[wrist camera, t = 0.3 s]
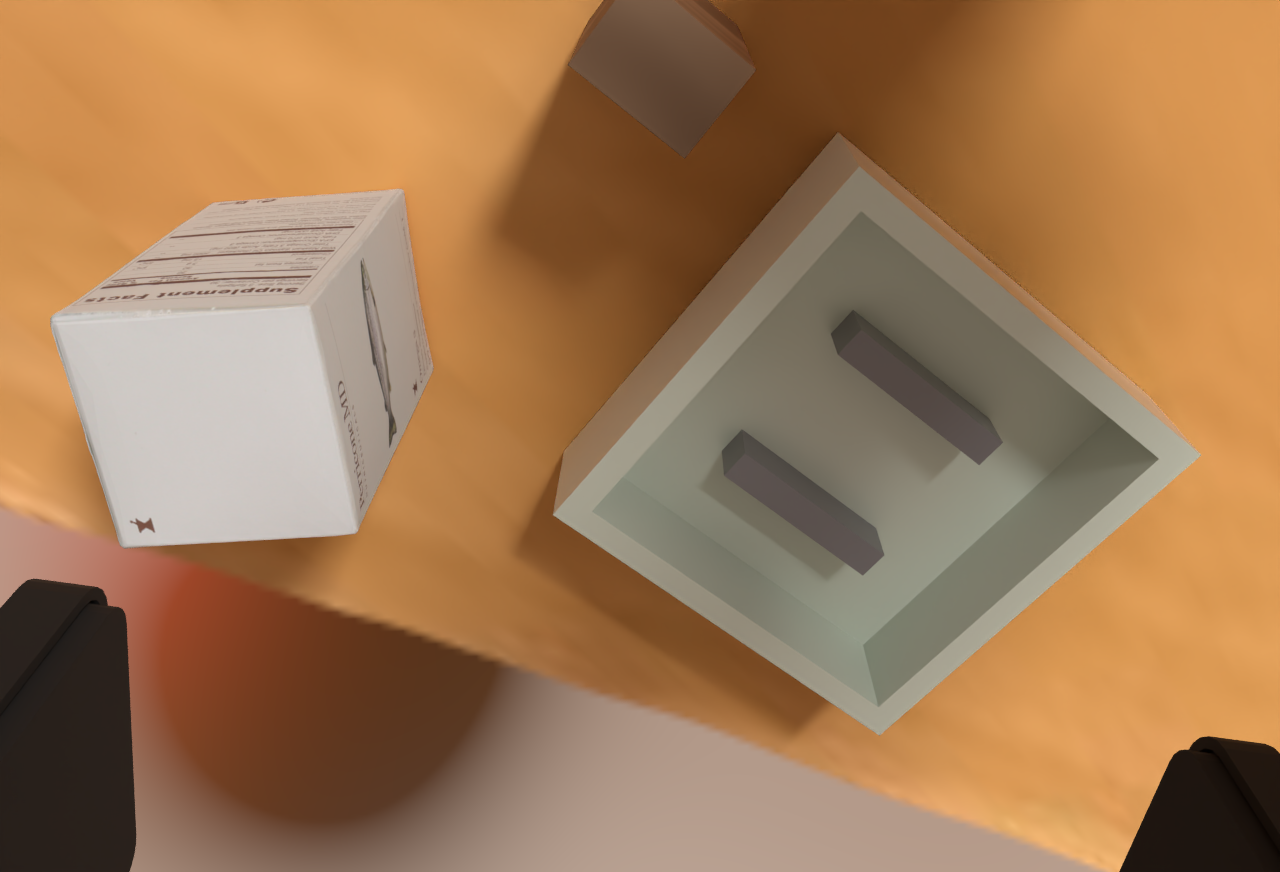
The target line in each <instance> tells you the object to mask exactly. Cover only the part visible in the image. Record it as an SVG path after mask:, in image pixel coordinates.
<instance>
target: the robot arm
mask: <svg viewBox="0 0 1280 872" xmlns="http://www.w3.org/2000/svg"><path fill="white" fill-rule="evenodd" d="M135 846H136V821H135V799H134V779H133V756H132V735H131V711H130V690H129V667H128V646H127V623H126V616H125V613H124V611H123V609H121V608H119V607H113V606H108V604H107V599H106V596H105V594H104V591H103V590H102V589H100V588H98V587H92V586H85V585H78V584H71V583H63V582H56V581H48V580H41V579H31V580H27V581H26V582H25V583H23V584H22V585H21V586H20V587H19V588H18V589H17V590H16V591H15V592H14V593H13V594H12V596H11V597H10V598H9V599H8V600H7V601H6V602H5V604H4V605H3V606H2V607H1V608H0V872H129V871H130V868H131V865H132V861H133V857H134V853H135ZM1119 872H1280V753H1279V752H1278V751H1277V750H1276V749H1275V748H1273V747H1271V746H1269V745H1266V744H1262V743H1254V742H1247V741H1239V740H1232V739H1224V738H1217V737H1210V736H1208V737H1200V738H1199V739H1198V740H1196V741H1195V742H1194V743H1193V744H1192V745H1191V747H1190V749H1189V750H1179V751H1178V752H1177V753H1175V754H1174V755H1173V757H1172V759H1171V760H1170V762H1169V764H1168V766H1167V768H1166V771H1165V773H1164V775H1163V777H1162V779H1161V782H1160V784H1159V786H1158V788H1157V790H1156V793H1155V795H1154V797H1153V799H1152V801H1151V804H1150V806H1149V808H1148V810H1147V812H1146V814H1145V817H1144V819H1143V821H1142V823H1141V825H1140V828H1139V830H1138V832H1137V834H1136V836H1135V839H1134V841H1133V843H1132V845H1131V847H1130V850H1129V852H1128V854H1127V856H1126V858H1125V861H1124V863H1123V865H1122V867H1121V869H1120V871H1119Z"/></svg>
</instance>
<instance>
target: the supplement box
mask: <svg viewBox="0 0 1280 872" xmlns="http://www.w3.org/2000/svg"><path fill="white" fill-rule="evenodd" d="M51 329H52V333H53V336H54V339H55V342H56V345H57V349H58V352H59V355H60V358H61V360H62V363H63V366H64V369H65V372H66V376H67V379H68V382H69V385H70V388H71V392H72V395H73V398H74V401H75V404H76V407H77V410H78V413H79V416H80V419H81V423H82V426H83V429H84V433H85V437H86V441H87V444H88V447H89V450H90V453H91V455H92V458H93V460H94V463H95V466H96V470H97V473H98V476H99V479H100V482H101V485H102V488H103V491H104V494H105V498H106V501H107V504H108V507H109V510H110V514H111V517H112V520H113V523H114V526H115V529H116V533H117V537H118V541H119V543H120V546H122V547H123V548H137V547H150V546H165V545H184V544H201V543H221V542H237V541H256V540H274V539H290V538H309V537H326V536H340V535H350V534H355V533H357V532H358V529H359V527H360V524H361V522H362V520H363V518H364V516H365V514H366V512H367V509H368V507H369V505H370V503H371V501H372V499H373V497H374V494H375V492H376V490H377V488H378V486H379V484H380V482H381V480H382V478H383V476H384V473H385V471H386V469H387V467H388V465H389V463H390V461H391V459H392V456H393V454H394V452H395V450H396V448H397V446H398V444H399V442H400V440H401V438H402V436H403V433H404V431H405V429H406V427H407V425H408V423H409V421H410V419H411V417H412V414H413V412H414V410H415V408H416V406H417V404H418V402H419V400H420V398H421V395H422V393H423V391H424V389H425V387H426V385H427V383H428V380H429V378H430V376H431V374H432V372H433V369H434V368H433V363H432V358H431V354H430V349H429V345H428V340H427V335H426V331H425V326H424V320H423V315H422V310H421V304H420V298H419V292H418V286H417V280H416V274H415V267H414V260H413V254H412V247H411V240H410V234H409V226H408V219H407V211H406V202H405V194H404V191H403V190H402V189H391V190H380V191H368V192H355V193H341V194H327V195H312V196H297V197H283V198H267V199H254V200H243V201H226V202H215V203H212V204H210V205H209V206H207V207H206V208H205V209H203V210H202V211H200V212H199V213H197V214H196V215H194V216H193V217H192V218H190V219H189V220H187V221H185V222H184V223H182V224H181V225H180V226H178V227H177V228H175V229H174V230H173V231H171V232H170V233H169V234H167V235H166V236H165V237H163V238H162V239H160V240H159V241H158V242H156V243H155V244H154V245H152V246H151V247H149V248H148V249H147V250H145V251H144V252H142V253H141V254H140V255H138V256H137V257H136V258H134V259H133V260H132V261H130V262H129V263H127V264H126V265H125V266H123V267H122V268H121V269H119V270H118V271H117V272H115V273H114V274H113V275H111V276H110V277H108V278H107V279H106V280H104V281H103V282H102V283H100V284H99V285H97V286H96V287H95V288H93V289H92V290H91V291H89V292H88V293H86V294H85V295H84V296H82V297H81V298H79V299H78V300H76V301H75V302H73V303H72V304H70V305H69V306H67V307H66V308H64V309H62V310H60V311H59V312H57V313H55V314H54V315H52V317H51Z"/></svg>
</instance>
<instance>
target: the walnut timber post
mask: <svg viewBox="0 0 1280 872" xmlns="http://www.w3.org/2000/svg"><path fill="white" fill-rule="evenodd" d="M568 65H569V66H570V67H571V68H573V69H574V70H575V71H576V72H577V73H579V74H580V75H581V76H582V77H584V78H585V79H586V80H587V81H589V82H590V83H591V84H592V85H594V86H595V87H596V88H597V89H599V90H600V91H601V92H602V93H604V94H605V95H606V96H607V97H609V98H610V99H611V100H612V101H614V102H615V103H616V104H617V105H619V106H620V107H621V108H622V109H624V110H625V111H626V112H627V113H628V114H630V115H631V116H632V117H633V118H635V119H636V120H637V121H638V122H640V123H641V124H642V125H643V126H645V127H646V128H647V129H648V130H650V131H651V132H652V133H653V134H655V135H656V136H657V137H658V138H660V139H661V140H662V141H663V142H665V143H666V144H667V145H668V146H670V147H671V148H672V149H673V150H675V151H676V152H677V153H678V154H680V155H681V156H682V157H683V158H684V159H685V158H686V156H687V155H688V154H689V153H690V151H691V150H692V149H693V148H694V146H695V145H696V144H697V143H698V142H699V140H700V139H701V138H702V137H703V135H704V134H705V133H706V132H707V130H708V129H709V128H710V127H711V125H712V124H713V123H714V122H715V120H716V119H717V118H718V117H719V115H720V114H721V113H722V112H723V111H724V109H725V108H726V107H727V106H728V104H729V103H730V102H731V101H732V99H733V98H734V97H735V96H736V94H737V93H738V92H739V91H740V89H741V88H742V87H743V86H744V85H745V83H746V82H747V81H748V80H749V78H750V77H751V76H752V75H753V73H754V72H755V71H756V68H755V66H754V64H753V61H752V59H751V57H750V54H749V52H748V49H747V47H746V45H745V42H744V40H743V38H742V35H741V33H740V30H739V28H738V26H737V25H736V24H735V23H734V22H732V21H731V20H730V19H729V18H728V17H727V16H725V15H724V14H723V13H722V12H721V11H720V10H718V9H717V8H716V7H715V6H714V5H713V4H711V3H710V2H709V1H708V0H604V1H603V2H602V3H601V5H600V6H599V8H598V9H597V10H596V12H595V13H594V14H593V16H592V17H591V19H590V20H589V21H588V23H587V25H586V27H585V30H584V32H583V34H582V36H581V38H580V40H579V42H578V45H577V47H576V49H575V51H574V53H573V55H572V57H571V59H570V62H569V64H568Z"/></svg>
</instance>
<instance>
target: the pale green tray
mask: <svg viewBox="0 0 1280 872" xmlns="http://www.w3.org/2000/svg"><path fill="white" fill-rule="evenodd" d="M1200 456H1201V454H1200V453H1199V452H1198V451H1197V450H1196V449H1195V447H1194V446H1193V445H1192V444H1191V443H1190V442H1189V441H1188V440H1187V438H1186V437H1185V436H1184V435H1183V434H1182V433H1181V432H1180V431H1179V429H1178V428H1177V427H1176V426H1175V425H1174V424H1173V423H1172V422H1171V420H1170V419H1169V418H1168V417H1167V416H1166V415H1165V414H1164V413H1163V411H1162V410H1161V409H1160V408H1159V407H1158V406H1157V405H1156V404H1155V402H1154V401H1153V400H1152V399H1151V398H1150V397H1149V396H1148V395H1147V394H1146V393H1145V392H1144V391H1143V390H1141V389H1140V388H1139V387H1138V386H1137V385H1136V384H1134V383H1133V382H1132V381H1131V380H1130V379H1128V378H1127V377H1126V376H1125V375H1124V374H1123V373H1121V372H1120V371H1119V370H1118V369H1117V368H1116V367H1114V366H1113V365H1112V364H1111V363H1110V362H1108V361H1107V360H1106V359H1105V358H1104V357H1103V356H1101V355H1100V354H1099V353H1098V352H1097V351H1096V350H1094V349H1093V348H1092V347H1091V346H1090V345H1088V344H1087V343H1086V342H1085V341H1084V340H1083V339H1081V338H1080V337H1079V336H1078V335H1077V334H1076V333H1074V332H1073V331H1072V330H1071V329H1070V328H1068V327H1067V326H1066V325H1065V324H1064V323H1063V322H1061V321H1060V320H1059V319H1058V318H1057V317H1055V316H1054V315H1053V314H1052V313H1051V312H1050V311H1048V310H1047V309H1046V308H1045V307H1044V306H1043V305H1041V304H1040V303H1039V302H1038V301H1037V300H1035V299H1034V298H1033V297H1032V296H1031V295H1030V294H1028V293H1027V292H1026V291H1025V290H1024V289H1023V288H1021V287H1020V286H1019V285H1018V284H1017V283H1015V282H1014V281H1013V280H1012V279H1011V278H1010V277H1008V276H1007V275H1006V274H1005V273H1004V272H1003V271H1001V270H1000V269H999V268H998V267H997V266H995V265H994V264H993V263H992V262H991V261H990V260H988V259H987V258H986V257H985V256H984V255H983V254H981V253H980V252H979V251H978V250H977V249H975V248H974V247H973V246H972V245H971V244H970V243H968V242H967V241H966V240H965V239H964V238H963V237H961V236H960V235H959V234H958V233H957V232H955V231H954V230H953V229H952V228H951V227H950V226H948V225H947V224H946V223H945V222H944V221H942V220H941V219H940V218H939V217H938V216H937V215H935V214H934V213H933V212H932V211H931V210H930V209H928V208H927V207H926V206H925V205H924V204H922V203H921V202H920V201H919V200H918V199H917V198H915V197H914V196H913V195H912V194H911V193H910V192H908V191H907V190H906V189H905V188H904V187H902V186H901V185H900V184H899V183H898V182H897V181H895V180H894V179H893V178H892V177H891V176H890V175H888V174H887V173H886V172H885V171H884V170H882V169H881V168H880V167H879V166H878V165H877V164H875V163H874V162H873V161H872V160H871V159H870V158H868V157H867V156H866V155H865V154H864V153H862V152H861V151H860V150H859V149H858V148H857V147H855V146H854V145H853V144H852V143H851V142H849V141H848V140H847V139H846V138H845V137H844V136H842V135H841V134H840V133H839V132H838V133H837V134H836V135H835V136H834V137H833V139H832V140H831V141H830V142H829V143H828V144H827V146H826V147H825V148H824V149H823V150H822V151H821V153H820V154H819V155H818V156H817V157H816V158H815V160H814V161H813V162H812V163H811V164H810V165H809V167H808V168H807V169H806V170H805V171H804V172H803V174H802V175H801V176H800V177H799V178H798V179H797V181H796V182H795V183H794V184H793V185H792V186H791V187H790V189H789V190H788V191H787V192H786V193H785V194H784V196H783V197H782V198H781V199H780V200H779V201H778V203H777V204H776V205H775V206H774V207H773V208H772V210H771V211H770V212H769V213H768V214H767V215H766V217H765V218H764V219H763V220H762V221H761V222H760V224H759V225H758V226H757V227H756V228H755V229H754V231H753V232H752V233H751V234H750V235H749V236H748V238H747V239H746V240H745V241H744V242H743V243H742V245H741V246H740V247H739V248H738V249H737V250H736V251H735V253H734V254H733V255H732V256H731V257H730V258H729V260H728V261H727V262H726V263H725V264H724V265H723V267H722V268H721V269H720V270H719V271H718V272H717V274H716V275H715V276H714V277H713V278H712V279H711V281H710V282H709V283H708V284H707V285H706V286H705V288H704V289H703V290H702V291H701V292H700V293H699V295H698V296H697V297H696V298H695V299H694V300H693V302H692V303H691V304H690V305H689V306H688V307H687V309H686V310H685V311H684V312H683V313H682V314H681V315H680V317H679V318H678V319H677V320H676V321H675V322H674V324H673V325H672V326H671V327H670V328H669V329H668V331H667V332H666V333H665V334H664V335H663V336H662V338H661V339H660V340H659V341H658V342H657V343H656V345H655V346H654V347H653V348H652V349H651V350H650V352H649V353H648V354H647V355H646V356H645V357H644V359H643V360H642V361H641V362H640V363H639V364H638V366H637V367H636V368H635V369H634V370H633V371H632V373H631V374H630V375H629V376H628V377H627V378H626V379H625V381H624V382H623V383H622V384H621V385H620V386H619V388H618V389H617V390H616V391H615V392H614V393H613V395H612V396H611V397H610V398H609V399H608V400H607V402H606V403H605V404H604V405H603V406H602V407H601V409H600V410H599V411H598V412H597V413H596V414H595V416H594V417H593V418H592V419H591V420H590V421H589V423H588V424H587V425H586V426H585V427H584V428H583V430H582V431H581V432H580V433H579V434H578V435H577V437H576V438H575V439H574V440H573V441H572V442H571V443H570V445H569V446H568V447H567V448H566V449H565V450H564V454H563V459H562V465H561V471H560V477H559V482H558V488H557V494H556V499H555V505H554V511H553V515H554V516H555V517H557V518H558V519H560V520H561V521H562V522H564V523H565V524H567V525H568V526H570V527H571V528H573V529H574V530H576V531H577V532H579V533H580V534H582V535H583V536H585V537H586V538H588V539H589V540H591V541H592V542H594V543H595V544H597V545H598V546H599V547H601V548H602V549H604V550H605V551H607V552H608V553H610V554H611V555H613V556H614V557H616V558H617V559H619V560H620V561H622V562H623V563H625V564H626V565H628V566H629V567H631V568H632V569H634V570H635V571H637V572H638V573H639V574H641V575H642V576H644V577H645V578H647V579H648V580H650V581H651V582H653V583H654V584H656V585H657V586H659V587H660V588H662V589H663V590H665V591H666V592H668V593H669V594H671V595H672V596H674V597H675V598H676V599H678V600H679V601H681V602H682V603H684V604H685V605H687V606H688V607H690V608H691V609H693V610H694V611H696V612H697V613H699V614H700V615H702V616H703V617H705V618H706V619H708V620H709V621H711V622H712V623H713V624H715V625H716V626H718V627H719V628H721V629H722V630H724V631H725V632H727V633H728V634H730V635H731V636H733V637H734V638H736V639H737V640H739V641H740V642H742V643H743V644H745V645H746V646H748V647H749V648H751V649H752V650H753V651H755V652H756V653H758V654H759V655H761V656H762V657H764V658H765V659H767V660H768V661H770V662H771V663H773V664H774V665H776V666H777V667H779V668H780V669H782V670H783V671H785V672H786V673H788V674H789V675H790V676H792V677H793V678H795V679H796V680H798V681H799V682H801V683H802V684H804V685H805V686H807V687H808V688H810V689H811V690H813V691H814V692H816V693H817V694H819V695H820V696H822V697H823V698H825V699H826V700H828V701H829V702H830V703H832V704H833V705H835V706H836V707H838V708H839V709H841V710H842V711H844V712H845V713H847V714H848V715H850V716H851V717H853V718H854V719H856V720H857V721H859V722H860V723H862V724H863V725H865V726H866V727H867V728H869V729H870V730H872V731H873V732H875V733H876V734H878V735H881V734H882V733H883V732H884V731H885V730H886V729H888V728H889V727H890V726H891V725H892V724H893V723H894V722H896V721H897V720H898V719H899V718H900V717H901V716H902V715H904V714H905V713H906V712H907V711H908V710H909V709H910V708H912V707H913V706H914V705H915V704H916V703H917V702H919V701H920V700H921V699H922V698H923V697H924V696H925V695H927V694H928V693H929V692H930V691H931V690H932V689H933V688H935V687H936V686H937V685H938V684H939V683H940V682H941V681H943V680H944V679H945V678H946V677H947V676H948V675H950V674H951V673H952V672H953V671H954V670H955V669H956V668H958V667H959V666H960V665H961V664H962V663H963V662H964V661H966V660H967V659H968V658H969V657H970V656H971V655H972V654H974V653H975V652H976V651H977V650H978V649H979V648H980V647H982V646H983V645H984V644H985V643H986V642H987V641H989V640H990V639H991V638H992V637H993V636H994V635H995V634H997V633H998V632H999V631H1000V630H1001V629H1002V628H1003V627H1005V626H1006V625H1007V624H1008V623H1009V622H1010V621H1011V620H1013V619H1014V618H1015V617H1016V616H1017V615H1018V614H1020V613H1021V612H1022V611H1023V610H1024V609H1025V608H1026V607H1028V606H1029V605H1030V604H1031V603H1032V602H1033V601H1034V600H1036V599H1037V598H1038V597H1039V596H1040V595H1041V594H1042V593H1044V592H1045V591H1046V590H1047V589H1048V588H1049V587H1051V586H1052V585H1053V584H1054V583H1055V582H1056V581H1057V580H1059V579H1060V578H1061V577H1062V576H1063V575H1064V574H1065V573H1067V572H1068V571H1069V570H1070V569H1071V568H1072V567H1073V566H1075V565H1076V564H1077V563H1078V562H1079V561H1080V560H1082V559H1083V558H1084V557H1085V556H1086V555H1087V554H1088V553H1090V552H1091V551H1092V550H1093V549H1094V548H1095V547H1096V546H1098V545H1099V544H1100V543H1101V542H1102V541H1103V540H1104V539H1106V538H1107V537H1108V536H1109V535H1110V534H1111V533H1113V532H1114V531H1115V530H1116V529H1117V528H1118V527H1119V526H1121V525H1122V524H1123V523H1124V522H1125V521H1126V520H1127V519H1129V518H1130V517H1131V516H1132V515H1133V514H1134V513H1135V512H1137V511H1138V510H1139V509H1140V508H1141V507H1142V506H1144V505H1145V504H1146V503H1147V502H1148V501H1149V500H1150V499H1152V498H1153V497H1154V496H1155V495H1156V494H1157V493H1158V492H1160V491H1161V490H1162V489H1163V488H1164V487H1165V486H1166V485H1168V484H1169V483H1170V482H1171V481H1172V480H1173V479H1175V478H1176V477H1177V476H1178V475H1179V474H1180V473H1181V472H1183V471H1184V470H1185V469H1186V468H1187V467H1188V466H1189V465H1191V464H1192V463H1193V462H1194V461H1195V460H1196V459H1197V458H1199V457H1200Z"/></svg>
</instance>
